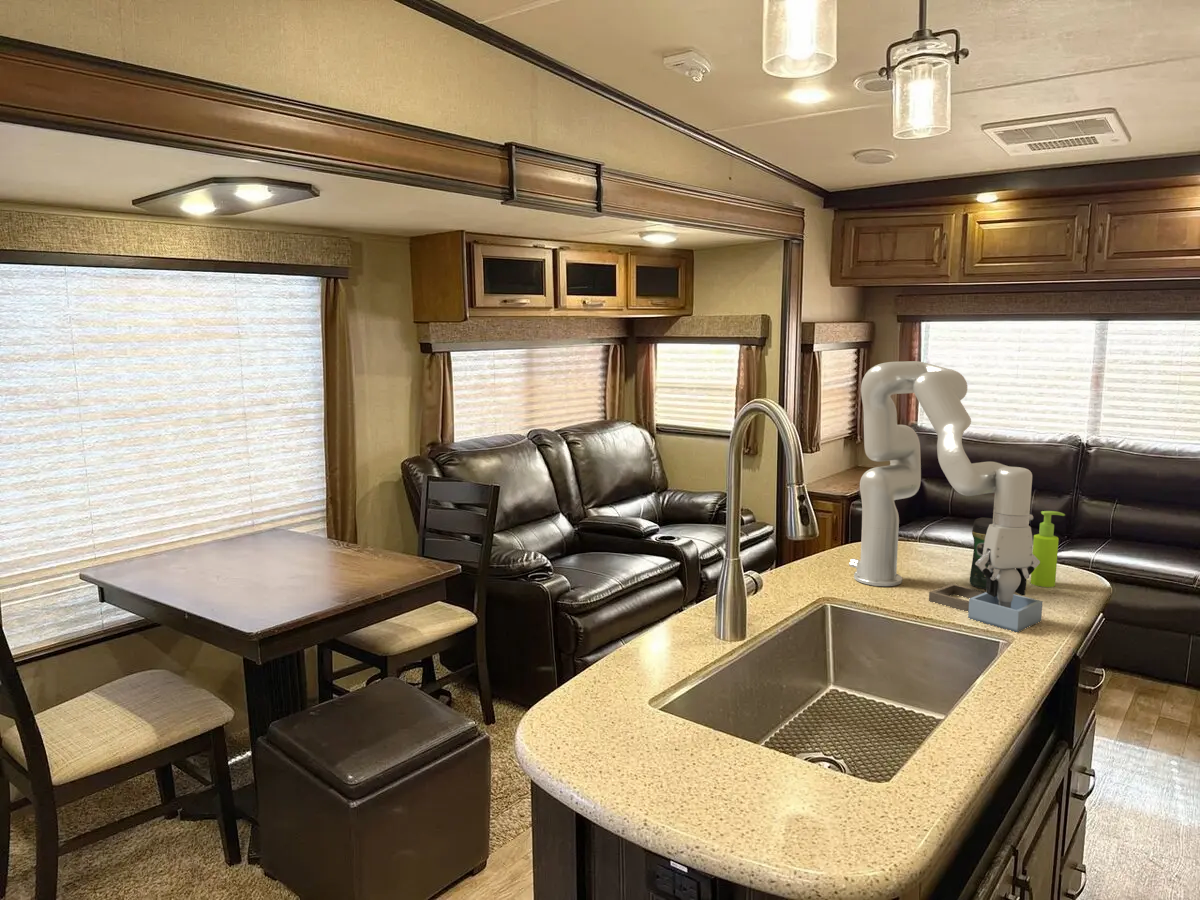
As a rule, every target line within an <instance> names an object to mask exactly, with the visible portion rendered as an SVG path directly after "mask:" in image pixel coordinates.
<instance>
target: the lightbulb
mask: <svg viewBox="0 0 1200 900" xmlns="http://www.w3.org/2000/svg"><path fill="white" fill-rule="evenodd" d="M996 580H997V581H998V590H997V593H998V600H999V605H1000V606H1004V607H1007V608H1011V601H1012V600H1013V595H1014V594H1016V592H1015V591H1016V589H1017V588H1018V586H1019V585H1020V582H1021V576H1020V574H1019V572H1018V571H1017V570H1016V568H1014V569H1000V571H999V573H998V575H997V577H996Z"/></svg>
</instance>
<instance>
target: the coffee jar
mask: <svg viewBox="0 0 1200 900" xmlns="http://www.w3.org/2000/svg"><path fill="white" fill-rule="evenodd" d="M989 524H993V518H991V517H980V518H976V519H974V522H973V526H972V532H971V535H972V539H973V553H972V559H971V560H972V561H971V568H970V573H969V584H970V585H971V586H973V587H975V588H979V589H983V590H986V582H987V577H985V576H984V574H983V573H982V572H981V571H980V569H979V568H978V567H977V566H976V565H975V563H976V562H977V561H978V560H979V559H980V558H981V557H982V556H983V548H984V542H985V537H986V533H987V530H988V527H989ZM988 566H989V565H988V564H985V567H986V568H988ZM993 570H994V569H993ZM992 572H993V571H992Z"/></svg>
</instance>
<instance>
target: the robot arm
mask: <svg viewBox="0 0 1200 900" xmlns="http://www.w3.org/2000/svg"><path fill="white" fill-rule="evenodd" d="M967 393H968V383H967V380H966V378H965V377H964V376H963V375H962V374H961V373H960V372H959V371H957V370H954V369H950V368H947V367H944V366H939V365H936V364H935V365H934V364H931V363H928V362H923V361H915V360H914V361H913V360H912V361H888V362H883V363H879V364H875V365H874V366H872V367H871V368H870V369H868V370H867V371H866V373H865V375H864V376H863V377H862V380H861V385H860V395H861V403H862V408H863V409H862V411H863V444H864V445H863V446H864V453H865V455H866V457H867V458H868V460H871V461H873V462H878V463H879V462H889V463H890V464H888V465H882V466H875V467H873V468H872V467H871V468H870V469H868V470H866V471H865V472H864V473H863V474H862V476H861V477H860V480H859V493H860V498H861V506H862V507H861V510H862V511H861V539H860V540H861V541H860V542H861V543H860V559H857V558H851V559H850V562H849V567H851V568H855V569H856V571H855V572H854V574H853V578H854V580H855V581H857V582H858V583H862V584H865V585H868V586H873V587H894V586H895V587H896V586H899V585H901V584H902V582H903V577H902V576H901V575H900V574H898V573H897V570H898V568H897V567H898V549H899V546H898V545H899V526H900V525H899V524H900V517H899V516H900V515H899V512H898V509H897V506H896V503H895V501H896V500H897V501H898V500H902V499H903V500H904V499H908V498H911V497H913V496H915V495H917V493H918V492H919V489H920V487H921V482H922V481H921V480H922V469H921V468H922V465H921V463H922V462H921V443H920V438H919V436H918V434H917V432H916V431H915V430H914V429H913V428H912V427H910V426H908V425H905V424H898V417H897V415H898V413H897V408H896V404H895V402H894V400H893V399H892V397H891V396H892V395H897V394H899V395H900V394H901V395H903V394H914V395H915V397H916V399H917V401H918V402H919V405H920V406H921V408H922V410H923V411H924V413H925V414H926V415H925V416H926V417H927V419H928V420H929V422H930V424H931V425H932V427H933V430H934V431H935V433H936V435H937V441H936V450H937V454H936V455H937V459H938V461H937V462H938V463H939V466H940V468H941V470H942V472H943V474H944V475H945V477H946V479H947V481H948V483H949V484H950V485H951V487H952V488H953V489H954V490H955V491H956V492H957V493H958V494H960V495H963V496H966V497H972V496H973V497H974V496H979V495H980V496H981V495H985V494H994V499H993V511H992V513H993V514H992V519H993V524H989V527H988V530H987V533H986V537H985V542H984V548H983V556H982V557H981V558H980V559H979V560H978V561H977V562H976V563H975V565H976V566H977V567H978V568H979V569H980V571H981V572H982V573H983V574H984V576H985V577H987V582H986V589H985V590H986V591H985V592H987V593H988V594H989V595H991V596H993V597H996V596H997V590H998V581H997V580H996V577H997V575H998V573H999V571H1000V569H1014V568H1015V569H1016V570H1017V571H1018V572H1019V574H1020V576H1021V582H1020V585H1019V586H1018V588H1017V589H1016V591H1015V594H1017V595H1020V596H1025V595H1026V589H1027V579H1028V580H1029V578H1030V576H1031V573H1032V572H1033V571H1034V568H1036V567H1037V566H1038V565H1039V564H1040V561H1039V560H1038V559H1037V558H1036V557H1035V556H1034V555H1033V533H1032V527H1031V526H1030V525H1029V524H1030V521H1033V520H1034V516H1033V514H1030V512H1031V510H1030V509H1031V499H1032V485H1033V473H1032V472H1031V470H1029V469H1028V468H1025V467H1019V466H1010V465H1009V466H1008V465H1005V464H1003V463H1000V462H997V461H981V462H973V463H972V462H971V460H970V459H969V457H968V455H967V453H966V452H965V449H964V447H963V446H964V445H963V443H962V442H963V439H962V438H963V435H964V432H966V430H967V429H969V427H970V426H971V423H972V419H971V416H970V414H969V413H968V411H967V409H966V408H965V406H964V404H963V403H962V400H963V399H964V398H965V397H966V395H967ZM985 564H988V565H989V566H988V568H986V567H985ZM993 569H994V570H993ZM992 571H993V572H992Z"/></svg>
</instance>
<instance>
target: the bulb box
mask: <svg viewBox="0 0 1200 900" xmlns="http://www.w3.org/2000/svg"><path fill="white" fill-rule="evenodd" d="M984 592H985V593H982V594H980V595H977V596H975V597H972V598H970V599H969V598H968V601H969V611H968V612H967V613H968V614H967V615H968V616H967V619H968V618H970V619H969V620H971V619H973V620H972V621H974V620H976V621H975V622H978V621H980V622H979V623H981V622H983V623H982V624H985V623H986V624H985V625H988V624H990V625H989V626H992V625H994V626H993V627H995V626H997V627H996V628H999V627H1000V629H1002V628H1003V630H1006V629H1007V631H1009V630H1011V631H1010V632H1013V631H1014V632H1013V633H1016V632H1018V633H1020V632H1022V631H1024V630H1026V629H1028V628H1030V627H1029V626H1031V625H1033V624H1035V625H1037V624H1039V623H1041V622H1042V617H1043V616H1042V615H1043V602H1044V601H1043V600H1040V599H1035V598H1032V597H1027V596H1025V595H1020V594H1017V593H1014V595H1013V600H1012V601H1011V608H1007V607H1004V606H1000V605H999V600H998V593H997V596H996V597H993V596H991V595H989V594H988V593H987V591H984ZM1040 621H1041V622H1040ZM1038 622H1039V623H1038ZM1036 623H1037V624H1036ZM1033 626H1034V625H1033ZM1027 627H1028V628H1027ZM1031 627H1032V626H1031ZM1025 628H1026V629H1025ZM1023 629H1024V630H1023ZM1021 630H1022V631H1021ZM1019 631H1020V632H1019Z"/></svg>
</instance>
